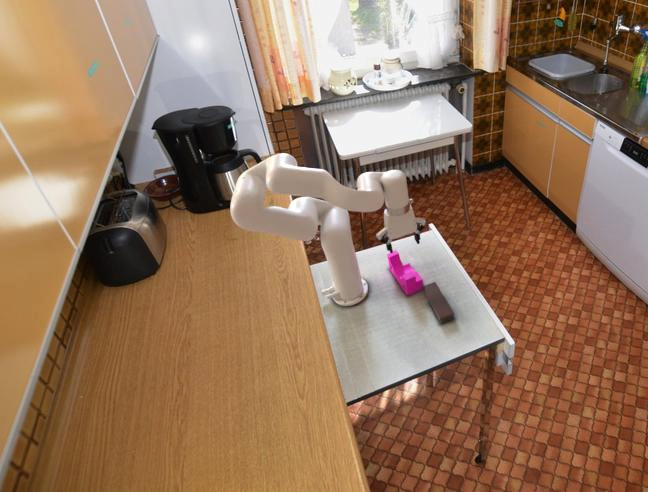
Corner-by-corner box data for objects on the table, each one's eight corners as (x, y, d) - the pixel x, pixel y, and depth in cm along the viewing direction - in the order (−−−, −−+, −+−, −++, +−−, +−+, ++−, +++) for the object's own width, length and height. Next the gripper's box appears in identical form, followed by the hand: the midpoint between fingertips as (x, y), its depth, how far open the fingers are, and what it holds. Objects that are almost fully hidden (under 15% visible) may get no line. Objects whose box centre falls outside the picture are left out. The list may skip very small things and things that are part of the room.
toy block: (423, 288, 154) (421, 272, 150) (407, 295, 152) (405, 280, 148) (404, 262, 165) (402, 247, 161) (389, 268, 163) (387, 254, 159)
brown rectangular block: (422, 291, 153) (422, 286, 151) (435, 286, 154) (435, 281, 153) (440, 324, 141) (439, 318, 139) (454, 318, 142) (454, 313, 141)
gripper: (418, 192, 145) (423, 231, 154) (368, 208, 140) (376, 247, 149) (427, 204, 139) (431, 244, 148) (375, 221, 134) (383, 261, 144)
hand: (404, 246), depth 149 cm, fingers open, 9 cm apart
